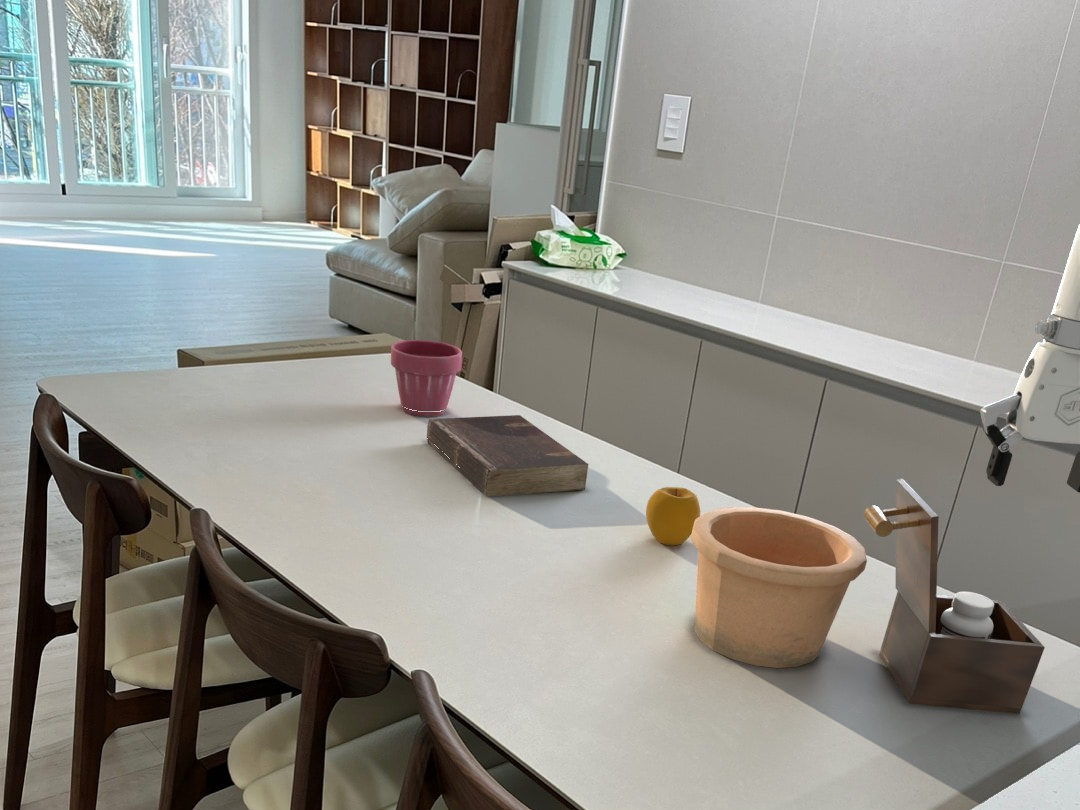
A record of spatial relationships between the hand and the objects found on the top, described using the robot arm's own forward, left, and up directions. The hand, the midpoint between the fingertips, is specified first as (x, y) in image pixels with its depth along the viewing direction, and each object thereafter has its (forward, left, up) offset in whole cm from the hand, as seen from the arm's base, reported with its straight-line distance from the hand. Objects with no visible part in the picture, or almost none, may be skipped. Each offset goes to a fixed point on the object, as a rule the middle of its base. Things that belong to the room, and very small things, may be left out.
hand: (1034, 485), depth 124 cm
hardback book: (+61, -67, -27) cm, 95 cm away
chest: (+3, +2, -26) cm, 27 cm away
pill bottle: (+3, +2, -26) cm, 26 cm away
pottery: (+26, -6, -27) cm, 38 cm away
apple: (+34, -38, -27) cm, 58 cm away
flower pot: (+78, -98, -27) cm, 129 cm away
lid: (+12, +2, -9) cm, 15 cm away
